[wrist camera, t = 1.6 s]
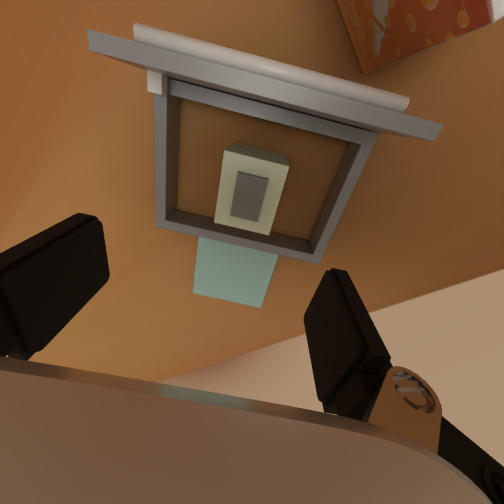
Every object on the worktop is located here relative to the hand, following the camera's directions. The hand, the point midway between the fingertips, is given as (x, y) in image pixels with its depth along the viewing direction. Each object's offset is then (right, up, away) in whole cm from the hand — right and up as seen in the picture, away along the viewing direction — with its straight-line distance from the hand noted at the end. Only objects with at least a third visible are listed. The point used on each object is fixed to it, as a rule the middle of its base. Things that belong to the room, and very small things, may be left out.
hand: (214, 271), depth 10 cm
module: (+2, +9, +14) cm, 16 cm away
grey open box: (+2, +8, +14) cm, 16 cm away
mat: (-1, -2, +20) cm, 20 cm away
